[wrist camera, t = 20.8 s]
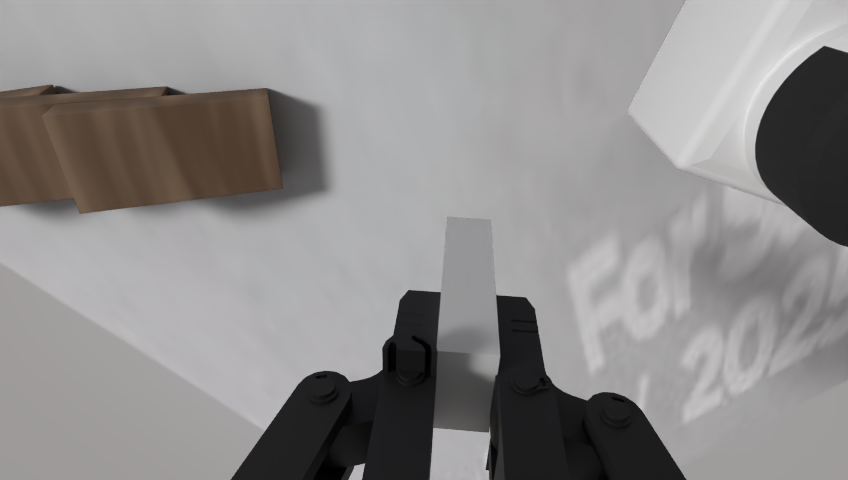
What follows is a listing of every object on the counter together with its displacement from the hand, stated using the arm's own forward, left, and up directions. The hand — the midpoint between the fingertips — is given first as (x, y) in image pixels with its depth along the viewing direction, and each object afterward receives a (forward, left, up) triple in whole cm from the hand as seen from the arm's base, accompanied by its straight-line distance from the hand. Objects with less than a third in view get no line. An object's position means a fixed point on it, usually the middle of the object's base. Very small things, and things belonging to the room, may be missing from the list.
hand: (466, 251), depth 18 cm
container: (-13, -5, -12) cm, 18 cm away
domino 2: (+10, 0, -11) cm, 15 cm away
